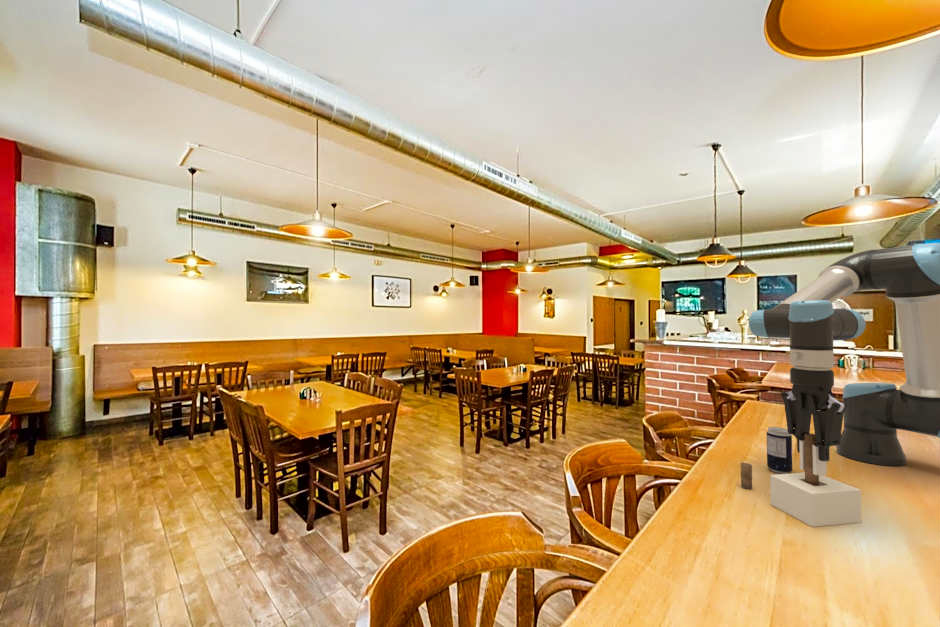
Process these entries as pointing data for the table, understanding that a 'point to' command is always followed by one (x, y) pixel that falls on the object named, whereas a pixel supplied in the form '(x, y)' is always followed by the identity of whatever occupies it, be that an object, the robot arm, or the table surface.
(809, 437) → the long pin
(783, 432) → the beverage can
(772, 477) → the hole block
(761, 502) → the table surface
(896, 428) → the robot arm
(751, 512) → the table surface
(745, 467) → the short pin
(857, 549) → the table surface
